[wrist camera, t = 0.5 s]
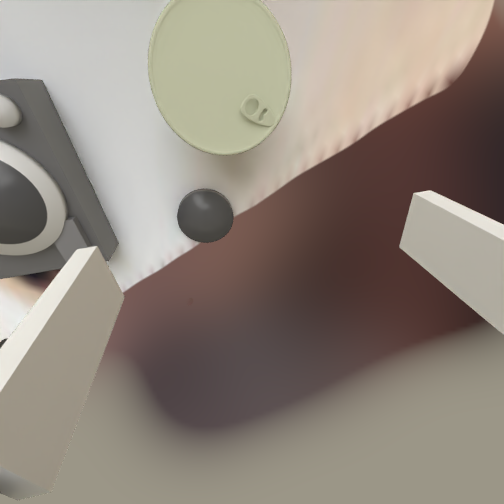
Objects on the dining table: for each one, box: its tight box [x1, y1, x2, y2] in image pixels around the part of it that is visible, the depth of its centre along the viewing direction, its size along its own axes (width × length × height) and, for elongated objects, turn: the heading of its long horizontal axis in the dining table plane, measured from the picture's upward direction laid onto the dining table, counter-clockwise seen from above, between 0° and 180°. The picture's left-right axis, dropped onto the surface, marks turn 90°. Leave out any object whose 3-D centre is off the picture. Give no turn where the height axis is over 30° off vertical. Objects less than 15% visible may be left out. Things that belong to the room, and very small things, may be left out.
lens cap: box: [177, 189, 233, 243], centre depth 33 cm, size 7×7×2 cm
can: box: [148, 0, 291, 155], centre depth 21 cm, size 9×9×12 cm
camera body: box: [0, 79, 119, 279], centre depth 26 cm, size 18×14×5 cm
